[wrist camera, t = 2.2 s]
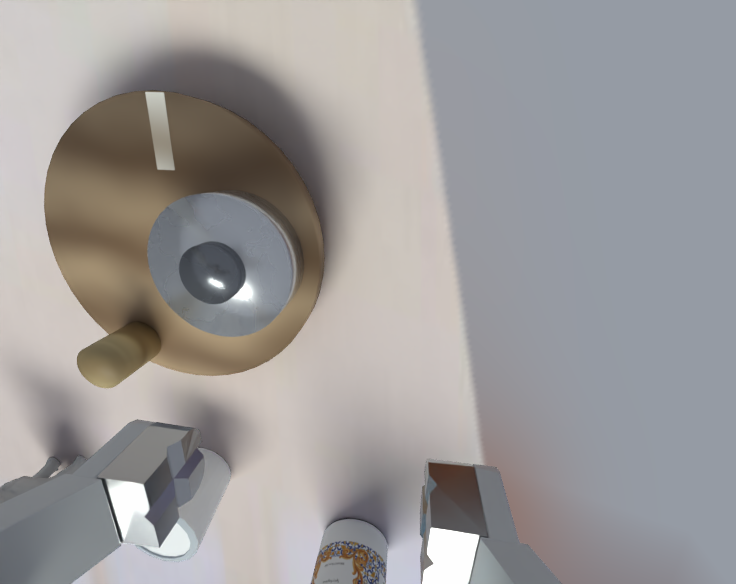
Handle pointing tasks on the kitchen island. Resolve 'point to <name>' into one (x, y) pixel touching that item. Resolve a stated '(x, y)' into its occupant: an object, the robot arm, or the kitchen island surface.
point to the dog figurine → (37, 478)
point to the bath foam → (351, 554)
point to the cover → (225, 261)
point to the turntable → (140, 210)
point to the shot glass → (195, 513)
